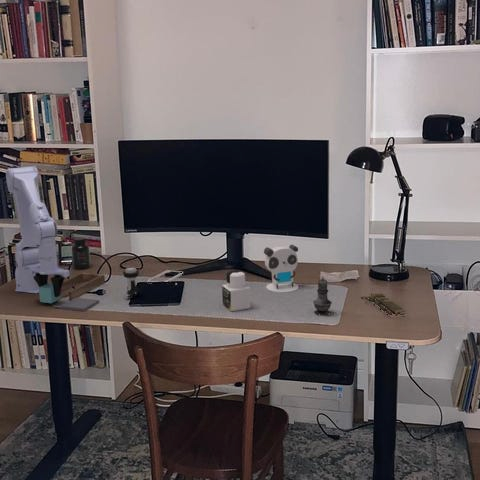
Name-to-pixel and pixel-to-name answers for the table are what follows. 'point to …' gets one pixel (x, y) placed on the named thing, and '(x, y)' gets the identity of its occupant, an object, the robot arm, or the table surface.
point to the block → (48, 293)
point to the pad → (79, 304)
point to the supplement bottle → (80, 254)
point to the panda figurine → (281, 268)
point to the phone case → (164, 273)
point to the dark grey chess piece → (322, 299)
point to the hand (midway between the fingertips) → (51, 295)
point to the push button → (131, 281)
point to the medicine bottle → (236, 291)
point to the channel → (91, 280)
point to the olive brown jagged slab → (385, 304)
